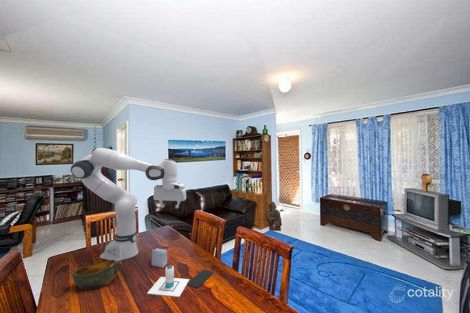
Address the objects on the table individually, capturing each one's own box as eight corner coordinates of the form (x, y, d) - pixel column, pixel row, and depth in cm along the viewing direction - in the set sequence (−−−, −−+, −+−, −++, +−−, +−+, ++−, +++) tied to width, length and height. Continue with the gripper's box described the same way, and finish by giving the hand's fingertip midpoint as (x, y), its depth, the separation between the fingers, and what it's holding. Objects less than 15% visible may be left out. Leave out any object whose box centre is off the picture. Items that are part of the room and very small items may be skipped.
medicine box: (167, 264, 121) (167, 249, 121) (162, 268, 116) (162, 253, 116) (156, 261, 123) (156, 247, 123) (151, 265, 119) (151, 251, 119)
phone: (214, 272, 112) (197, 287, 98) (214, 273, 112) (197, 289, 98) (203, 269, 115) (186, 283, 102) (203, 270, 115) (186, 285, 102)
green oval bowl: (104, 294, 94) (104, 273, 94) (68, 290, 97) (68, 269, 97) (124, 278, 106) (124, 259, 107) (92, 274, 110) (92, 256, 110)
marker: (163, 287, 98) (163, 268, 98) (167, 282, 102) (167, 264, 103) (171, 288, 98) (171, 269, 98) (175, 283, 102) (175, 264, 102)
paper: (147, 293, 95) (147, 292, 95) (160, 277, 108) (160, 276, 108) (179, 296, 92) (179, 296, 92) (189, 279, 105) (189, 279, 105)
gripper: (151, 185, 123) (151, 208, 123) (183, 186, 120) (183, 209, 120) (156, 184, 129) (156, 205, 129) (187, 184, 126) (187, 206, 126)
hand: (169, 207), depth 124 cm, fingers open, 8 cm apart
